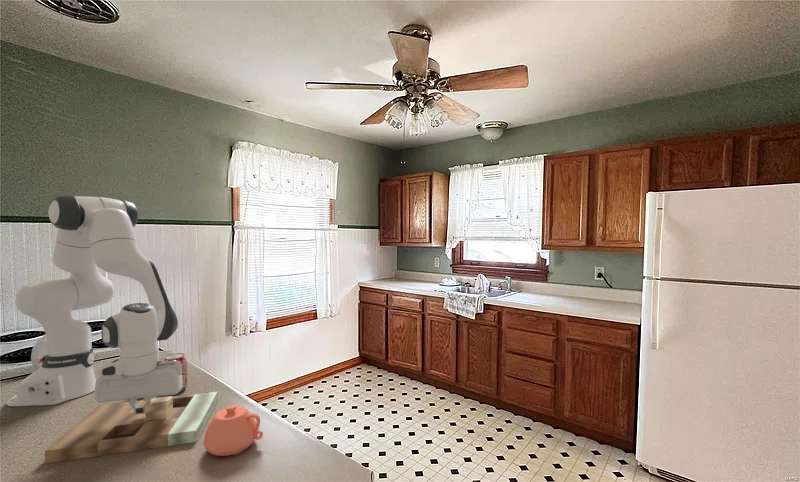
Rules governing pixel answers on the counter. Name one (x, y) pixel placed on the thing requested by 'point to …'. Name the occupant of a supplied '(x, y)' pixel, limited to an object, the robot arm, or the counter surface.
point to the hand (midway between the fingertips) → (141, 412)
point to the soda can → (183, 361)
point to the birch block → (159, 408)
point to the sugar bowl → (232, 431)
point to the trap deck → (133, 429)
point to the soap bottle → (39, 352)
